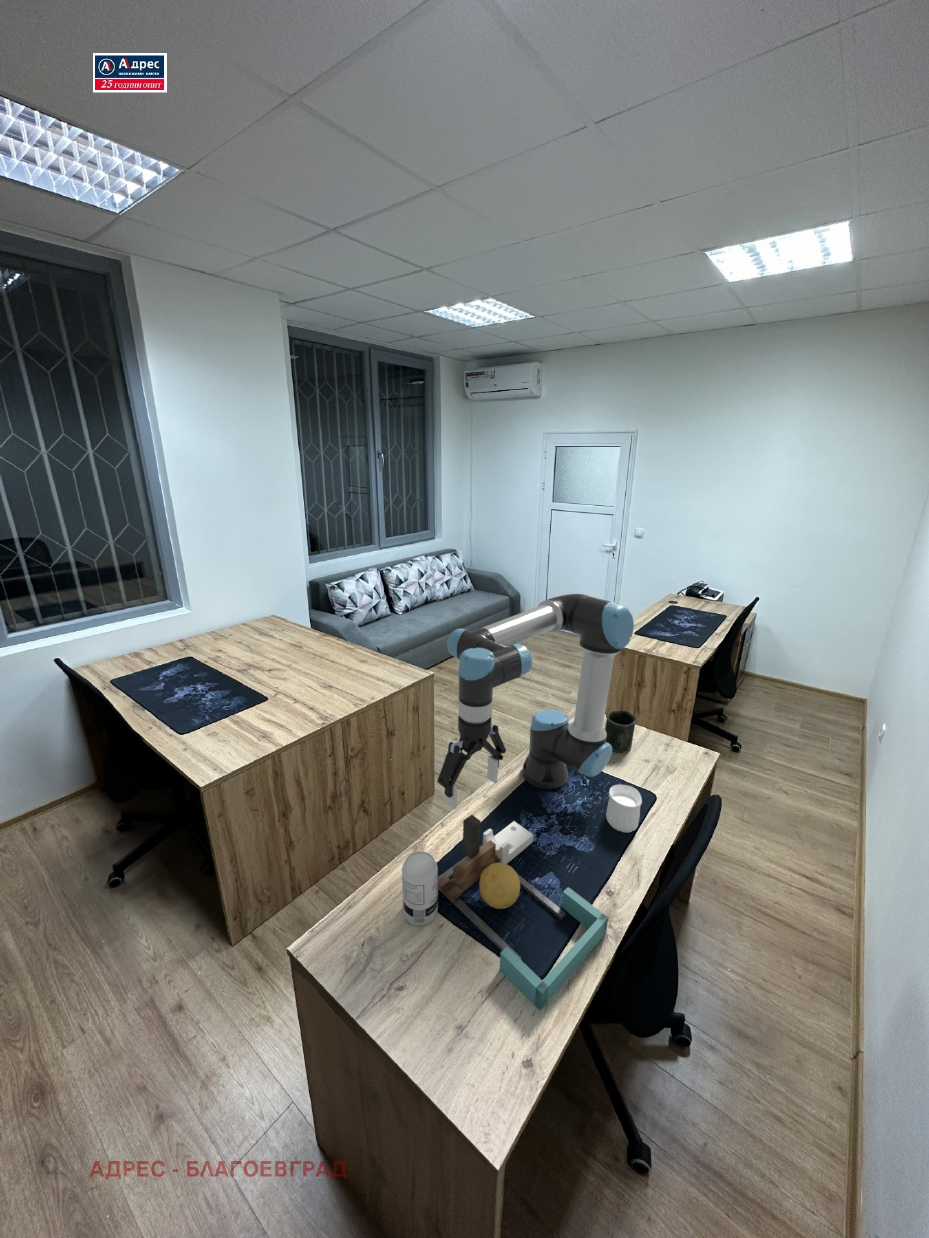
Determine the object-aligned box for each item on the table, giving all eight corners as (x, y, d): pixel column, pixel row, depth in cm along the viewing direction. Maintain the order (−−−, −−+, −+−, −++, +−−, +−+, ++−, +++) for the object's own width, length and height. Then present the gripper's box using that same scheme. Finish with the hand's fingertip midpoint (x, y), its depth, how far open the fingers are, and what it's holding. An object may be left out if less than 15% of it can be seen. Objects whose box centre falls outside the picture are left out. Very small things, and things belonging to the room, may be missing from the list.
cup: (623, 806, 152) (627, 780, 148) (646, 828, 143) (651, 801, 140) (598, 814, 148) (602, 788, 145) (620, 837, 140) (624, 810, 136)
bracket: (501, 870, 129) (502, 848, 126) (482, 854, 133) (483, 833, 131) (532, 844, 137) (534, 823, 135) (513, 830, 142) (514, 809, 139)
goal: (566, 902, 120) (568, 886, 118) (605, 933, 112) (608, 917, 110) (499, 969, 104) (500, 952, 102) (540, 1010, 97) (542, 993, 95)
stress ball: (510, 886, 125) (482, 858, 125) (534, 878, 118) (504, 848, 119) (493, 922, 117) (464, 891, 117) (518, 915, 111) (486, 883, 111)
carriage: (488, 849, 134) (491, 797, 128) (505, 862, 130) (508, 809, 124) (436, 889, 122) (435, 834, 116) (452, 905, 118) (452, 848, 112)
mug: (597, 746, 182) (601, 718, 178) (612, 729, 193) (616, 702, 188) (626, 757, 175) (630, 728, 171) (639, 739, 186) (644, 712, 182)
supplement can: (399, 903, 118) (397, 855, 113) (431, 892, 122) (430, 845, 116) (409, 932, 111) (407, 883, 106) (442, 920, 115) (442, 871, 109)
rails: (481, 847, 135) (481, 844, 135) (565, 915, 116) (565, 912, 116) (433, 883, 124) (433, 880, 124) (516, 965, 105) (516, 962, 104)
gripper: (500, 691, 121) (496, 763, 128) (421, 728, 105) (422, 808, 112) (523, 703, 116) (518, 777, 123) (444, 743, 100) (443, 826, 107)
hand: (472, 792), depth 117 cm, fingers open, 13 cm apart
